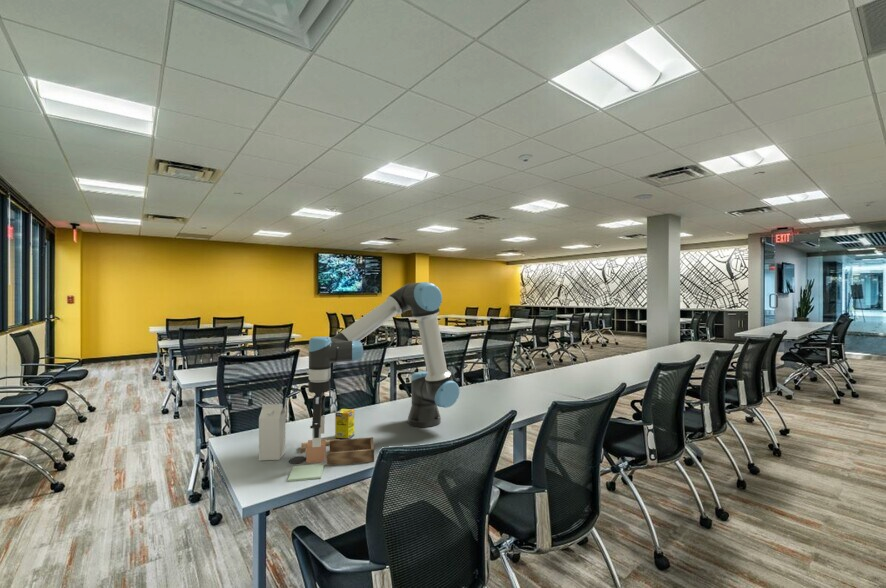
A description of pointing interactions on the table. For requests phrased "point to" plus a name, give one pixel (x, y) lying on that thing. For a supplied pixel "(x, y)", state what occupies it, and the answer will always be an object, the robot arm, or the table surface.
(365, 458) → the walnut stall
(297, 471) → the felt pad
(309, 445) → the terracotta block
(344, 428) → the supplement box
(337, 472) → the table surface
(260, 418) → the milk carton
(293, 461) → the hole disc
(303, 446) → the oak crook tool
